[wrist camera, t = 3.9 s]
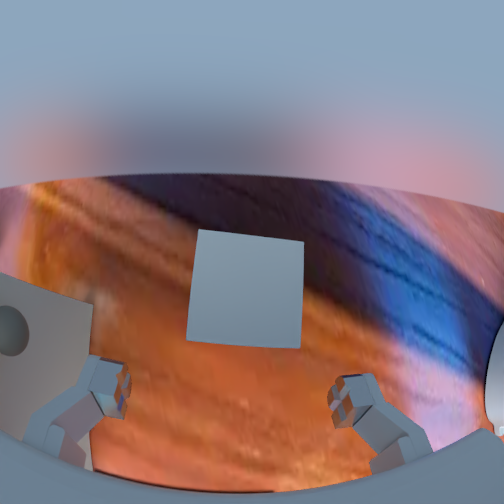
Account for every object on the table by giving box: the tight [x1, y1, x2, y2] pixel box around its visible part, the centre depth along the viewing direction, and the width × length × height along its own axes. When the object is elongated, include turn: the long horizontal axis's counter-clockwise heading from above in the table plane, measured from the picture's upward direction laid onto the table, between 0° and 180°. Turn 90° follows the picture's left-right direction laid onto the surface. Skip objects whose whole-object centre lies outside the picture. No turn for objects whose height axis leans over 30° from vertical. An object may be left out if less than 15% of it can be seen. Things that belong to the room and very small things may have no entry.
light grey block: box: [186, 229, 304, 348], centre depth 14 cm, size 4×4×9 cm
